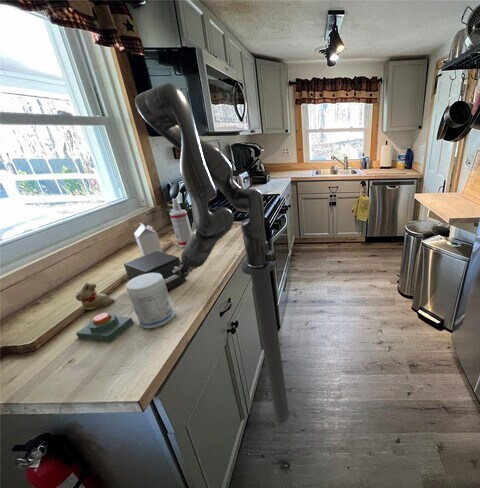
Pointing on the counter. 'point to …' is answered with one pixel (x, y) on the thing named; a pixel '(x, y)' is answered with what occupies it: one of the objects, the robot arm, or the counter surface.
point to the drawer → (169, 274)
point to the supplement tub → (150, 300)
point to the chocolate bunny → (92, 297)
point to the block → (105, 329)
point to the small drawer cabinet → (148, 264)
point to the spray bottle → (180, 224)
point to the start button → (101, 318)
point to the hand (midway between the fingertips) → (183, 275)
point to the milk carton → (147, 240)
